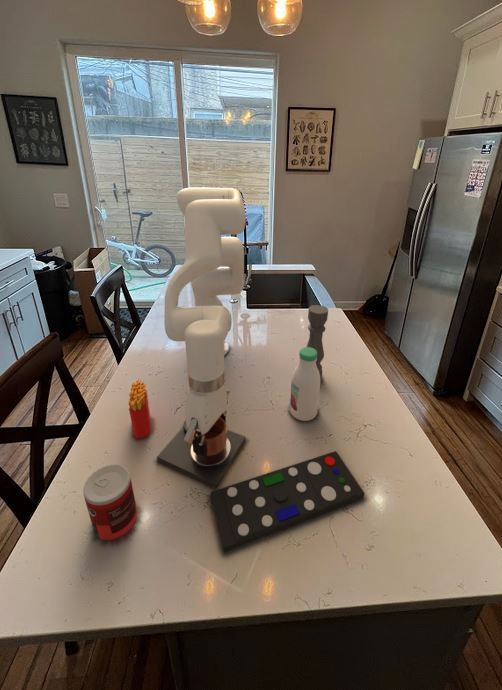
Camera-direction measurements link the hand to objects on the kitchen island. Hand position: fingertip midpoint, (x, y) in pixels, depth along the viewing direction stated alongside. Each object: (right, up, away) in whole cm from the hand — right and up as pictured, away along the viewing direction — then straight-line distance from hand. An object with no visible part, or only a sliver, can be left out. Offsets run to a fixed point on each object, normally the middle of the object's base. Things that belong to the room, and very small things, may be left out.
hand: (210, 439), depth 75 cm
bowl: (0, -1, 0) cm, 1 cm away
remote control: (+17, -10, -6) cm, 21 cm away
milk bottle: (+23, 0, +17) cm, 29 cm away
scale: (-2, -5, +4) cm, 7 cm away
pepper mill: (+28, +6, +30) cm, 42 cm away
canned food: (-17, -11, -11) cm, 23 cm away
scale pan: (0, -3, +1) cm, 3 cm away
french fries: (-19, -2, +10) cm, 22 cm away
